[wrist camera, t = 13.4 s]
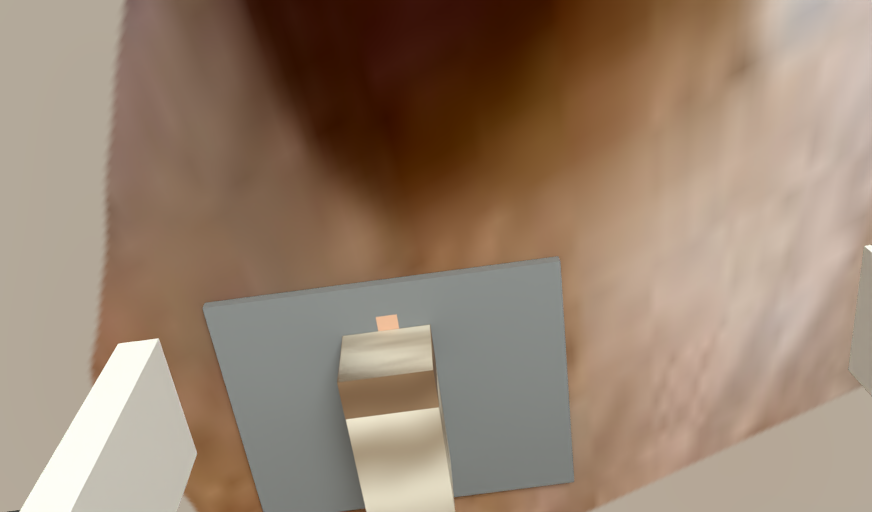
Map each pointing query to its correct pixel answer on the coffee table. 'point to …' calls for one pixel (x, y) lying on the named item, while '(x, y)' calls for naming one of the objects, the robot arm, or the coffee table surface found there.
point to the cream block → (396, 420)
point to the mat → (456, 367)
